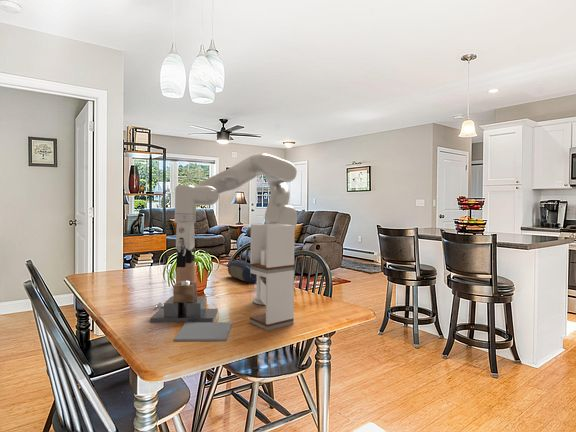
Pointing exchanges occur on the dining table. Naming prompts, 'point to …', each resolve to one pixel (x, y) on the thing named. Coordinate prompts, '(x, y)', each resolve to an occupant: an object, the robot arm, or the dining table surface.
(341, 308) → the dining table surface
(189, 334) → the mat
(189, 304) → the vise
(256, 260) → the grey two-tier cabinet
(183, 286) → the collar
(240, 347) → the dining table surface
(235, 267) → the portable speaker
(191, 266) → the travel mug
